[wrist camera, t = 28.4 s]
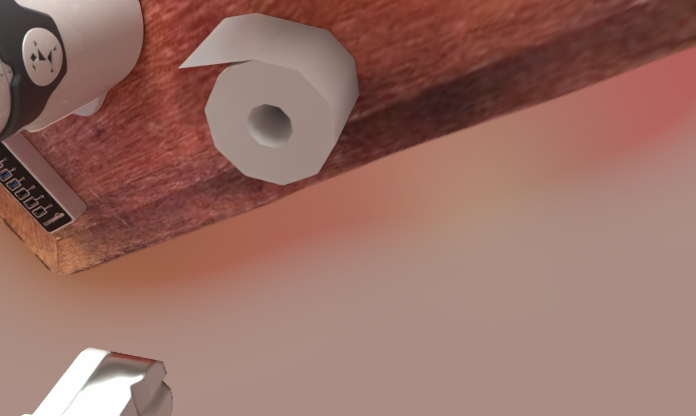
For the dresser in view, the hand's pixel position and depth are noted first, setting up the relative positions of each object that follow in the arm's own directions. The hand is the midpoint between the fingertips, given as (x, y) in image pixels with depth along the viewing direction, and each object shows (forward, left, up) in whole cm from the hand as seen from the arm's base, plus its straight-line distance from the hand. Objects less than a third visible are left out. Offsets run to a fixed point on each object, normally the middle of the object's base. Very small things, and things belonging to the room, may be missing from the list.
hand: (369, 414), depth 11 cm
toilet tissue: (-13, -8, -37) cm, 40 cm away
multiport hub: (-41, -19, -37) cm, 59 cm away
